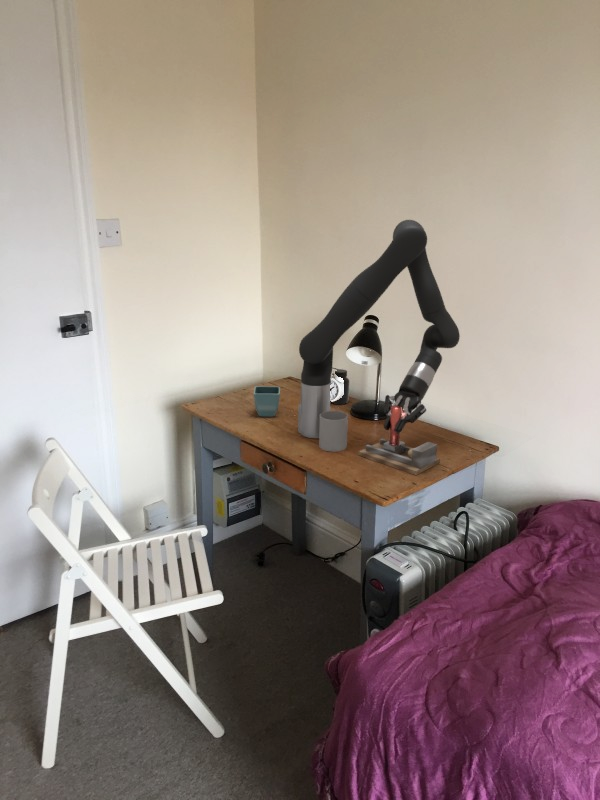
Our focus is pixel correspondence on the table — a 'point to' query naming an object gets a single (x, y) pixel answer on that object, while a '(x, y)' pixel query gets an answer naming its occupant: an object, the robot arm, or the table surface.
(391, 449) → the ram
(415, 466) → the machine vise
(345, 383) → the supplement bottle
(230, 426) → the table surface
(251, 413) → the table surface
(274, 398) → the flower pot
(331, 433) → the cup
